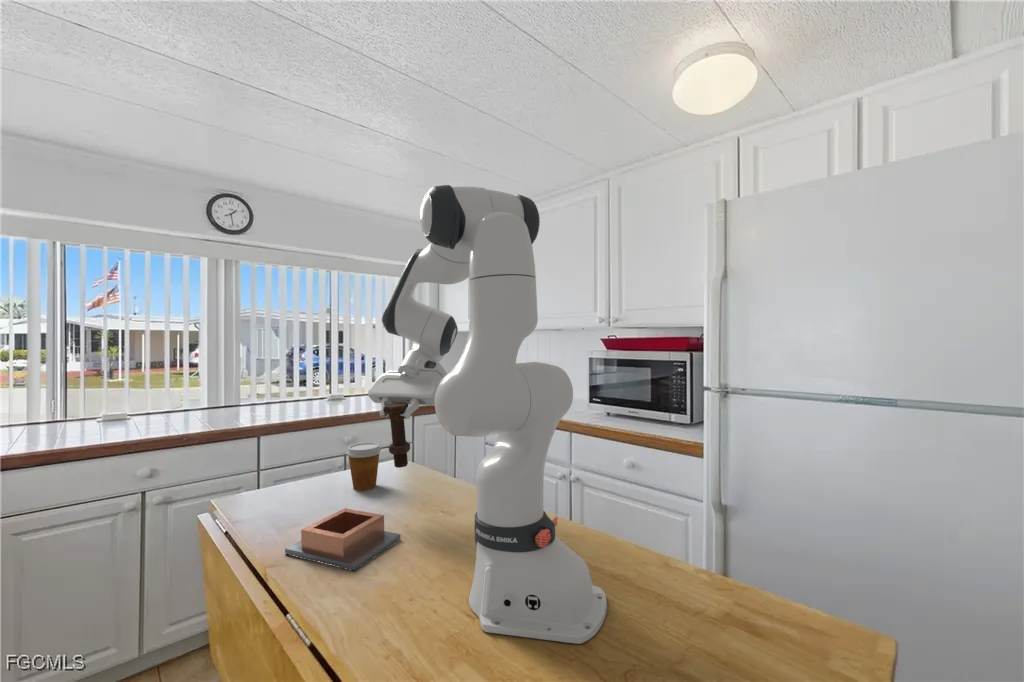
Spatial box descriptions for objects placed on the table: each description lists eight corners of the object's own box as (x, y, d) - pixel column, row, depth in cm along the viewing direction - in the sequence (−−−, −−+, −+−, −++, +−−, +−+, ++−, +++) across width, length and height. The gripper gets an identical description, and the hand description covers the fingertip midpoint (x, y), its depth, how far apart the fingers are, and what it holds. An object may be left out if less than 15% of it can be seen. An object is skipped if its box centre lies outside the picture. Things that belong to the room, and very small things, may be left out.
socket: (400, 539, 98) (400, 515, 98) (354, 571, 85) (353, 543, 85) (336, 526, 105) (336, 504, 105) (285, 554, 92) (284, 529, 92)
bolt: (407, 470, 105) (401, 406, 104) (386, 470, 106) (380, 407, 105) (415, 461, 111) (410, 401, 110) (395, 462, 112) (390, 402, 111)
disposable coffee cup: (349, 495, 126) (347, 452, 126) (346, 485, 135) (345, 444, 135) (384, 489, 130) (383, 447, 130) (379, 480, 139) (378, 440, 139)
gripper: (378, 363, 118) (352, 406, 109) (445, 363, 110) (423, 410, 101) (389, 378, 122) (365, 421, 113) (455, 380, 114) (435, 426, 105)
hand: (393, 416), depth 107 cm, fingers closed on bolt, 5 cm apart
